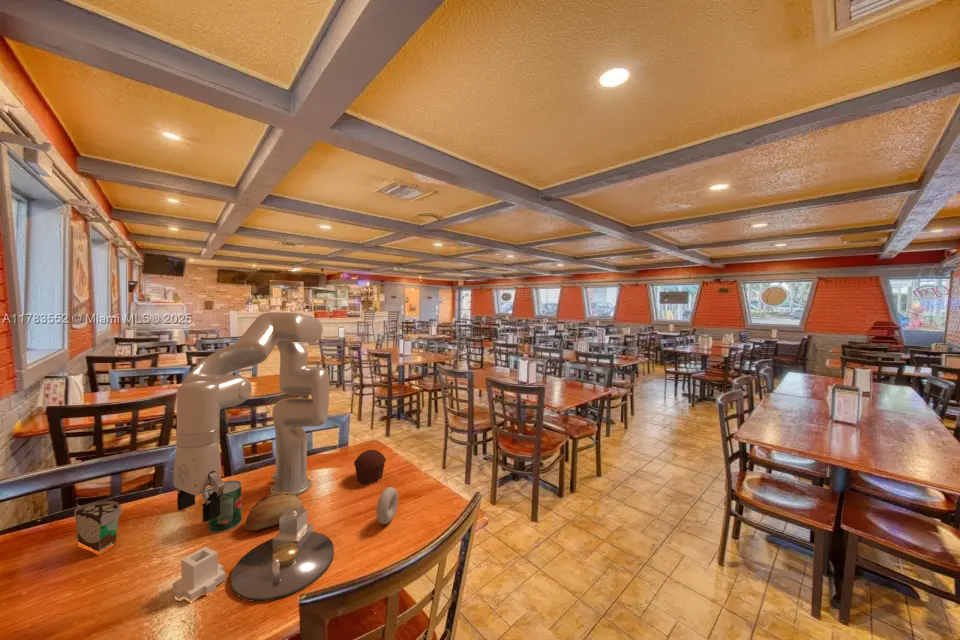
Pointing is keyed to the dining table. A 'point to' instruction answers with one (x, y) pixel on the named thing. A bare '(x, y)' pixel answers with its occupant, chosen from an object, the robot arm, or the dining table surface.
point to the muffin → (369, 466)
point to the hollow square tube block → (199, 574)
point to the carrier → (283, 561)
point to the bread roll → (271, 510)
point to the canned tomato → (227, 508)
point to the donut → (387, 505)
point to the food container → (97, 524)
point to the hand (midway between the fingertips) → (198, 512)
